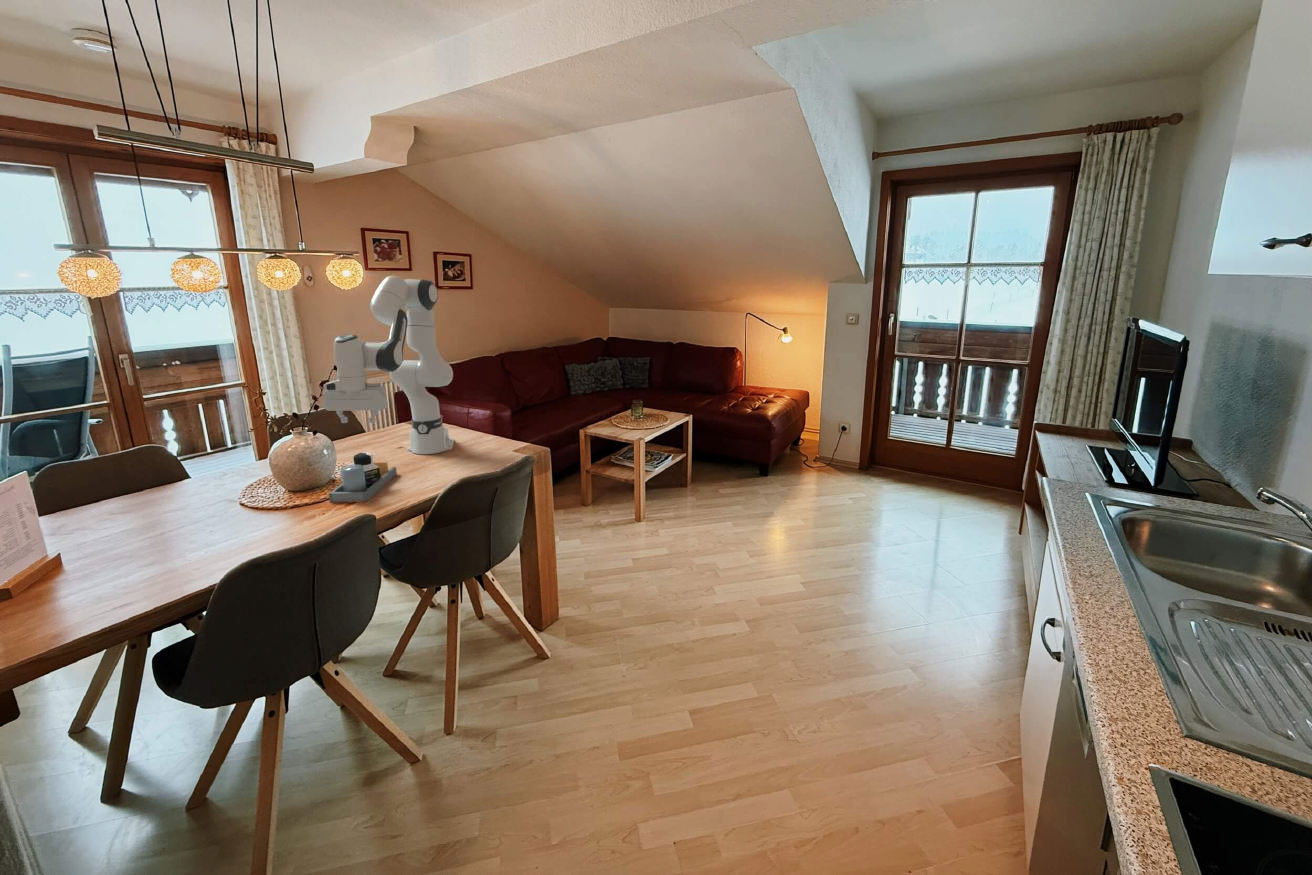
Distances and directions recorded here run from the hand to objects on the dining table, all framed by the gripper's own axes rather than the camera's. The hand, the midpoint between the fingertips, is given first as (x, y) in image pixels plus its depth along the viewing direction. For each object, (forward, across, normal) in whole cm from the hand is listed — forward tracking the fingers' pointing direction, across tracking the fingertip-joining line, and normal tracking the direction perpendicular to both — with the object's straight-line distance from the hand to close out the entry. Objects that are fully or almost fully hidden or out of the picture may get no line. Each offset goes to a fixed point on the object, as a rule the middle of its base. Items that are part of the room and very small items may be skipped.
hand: (358, 422), depth 200 cm
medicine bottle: (+24, 0, +1) cm, 24 cm away
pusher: (+23, 0, -7) cm, 24 cm away
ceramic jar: (+23, 0, +10) cm, 25 cm away
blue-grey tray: (+24, 0, +2) cm, 24 cm away
